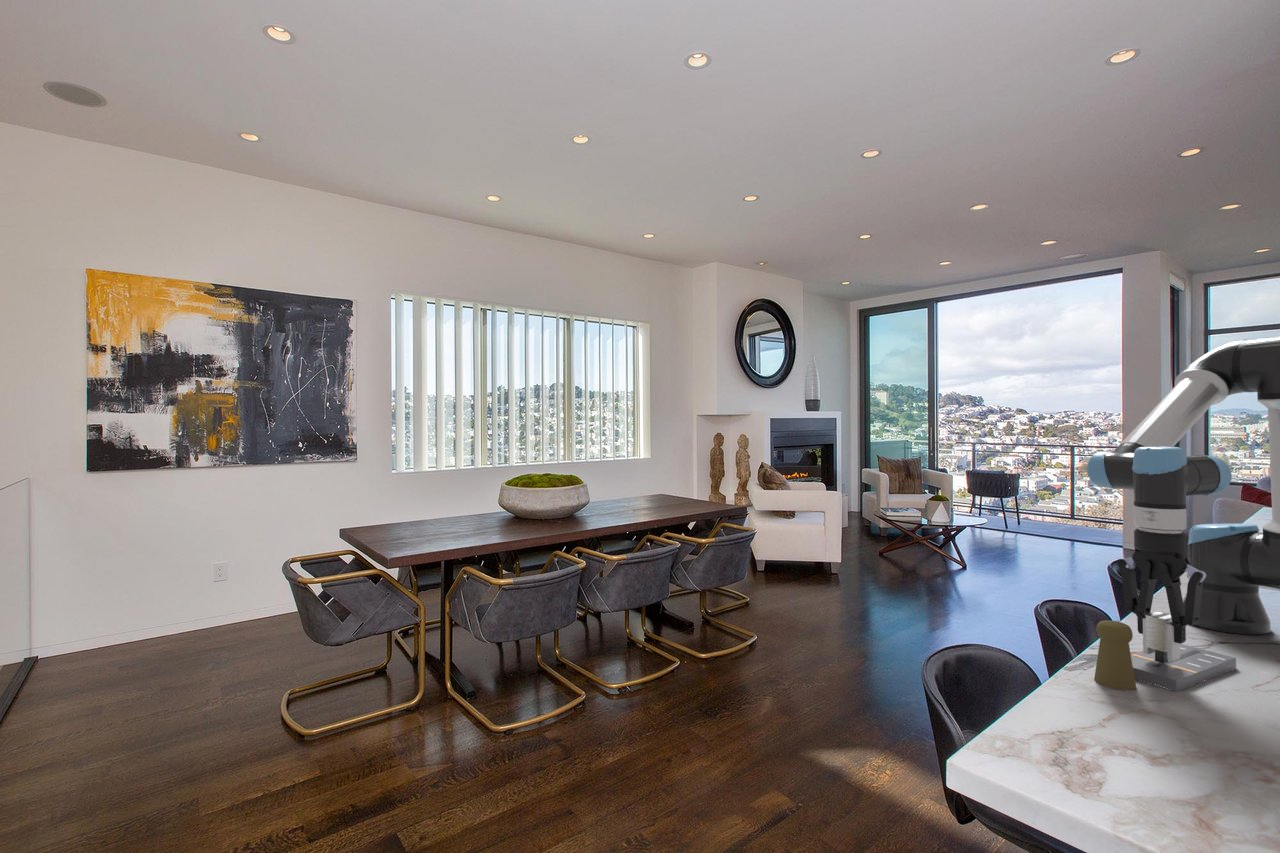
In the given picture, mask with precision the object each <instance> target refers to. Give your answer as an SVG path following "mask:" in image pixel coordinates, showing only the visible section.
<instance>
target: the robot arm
mask: <svg viewBox="0 0 1280 853" xmlns="http://www.w3.org/2000/svg"><path fill="white" fill-rule="evenodd" d="M1241 393H1256V394H1257V395H1256V396H1257V402H1258V403H1260V404H1261V405H1263V406H1264V407H1266V408H1267V414H1268V440H1269V441H1268V443H1269V467H1270V468H1269V470H1270V471H1269V472H1270V489H1271V490H1270V491H1271V493H1270V494H1271V516H1272V519H1271V520H1270V521H1268V523H1266V524H1264V525H1262V532H1260V528H1259V527H1258V525H1257V524H1252V523H1203V524H1196V525H1193V526H1192V527H1191V528H1189V533H1188V536H1187V534H1186V532H1184V531H1186V530H1187V529H1188V521H1187V518H1188V517H1187V497H1188V496H1191V497H1192V496H1209V495H1212V494H1217V493H1220V492H1223V490H1224V491H1225V490H1226V488H1228V487H1229V485H1230V484H1231V483H1232V482H1231V481H1232V475H1233V474H1232V470H1231V468H1230V466H1229V465H1228V464H1227V463H1226V462H1225V461H1224V460H1223V459H1221V458H1220V457H1217V456H1214V455H1206V454H1195V455H1186V451H1185V449H1183V448H1182V447H1178V446H1176V444H1177V443H1179V442H1180V441H1181V439H1182V438H1183V437H1184V436H1185V435H1186V434H1187V433H1188V432H1189V430H1191V428H1192V427H1193V426H1194V425H1195V424H1196V423H1197V422H1198V421H1199V420H1200V418H1201V417H1203V415H1205V413H1206V412H1207V411H1208V410H1209V409H1210V408H1211V406H1213V405H1218V404H1220V403H1222V402H1223V401H1224V400H1226V398H1227V397H1228V396H1230V395H1235V394H1241ZM1086 473H1087V474H1086V475H1087V477H1088V478H1089V481H1090V482H1091V483H1092V484H1093V485H1095V486H1097V487H1101V488H1102V487H1103V488H1110V489H1114V490H1130V491H1133V525H1134V526H1135V527H1136V528H1135V529H1134V530H1133V547H1134V552H1133V554H1132V556H1131V557H1124V558H1118V559H1117V560H1116V563H1117V564H1116V565H1117V566H1118V568H1119V570H1120V573H1121V581H1122V592H1123V600H1124V609H1125V611H1127V612H1131V613H1133V614H1134V615H1136V620H1137V632H1138V634H1140V635H1142V651H1143V653H1145V654H1151V653H1154V652H1155V649H1152V648H1148V647H1146V615H1147V614H1151V613H1152V612H1151V610H1152V605H1153V599H1154V595H1155V594H1154V593H1155V589H1156V583H1157V582H1158V580H1159V581H1162V584H1163V585H1162V586H1163V587H1164V588H1165V591H1166V592H1165V593H1166V597H1167V603H1168V608H1169V612H1170V613H1169V615H1171V619H1172V622H1171V623H1170V624H1167V660H1170V661H1174V660H1177V659H1180V644H1184V643H1185V642H1186V641H1187V631H1186V629H1187V628H1186V627H1187V626H1191V625H1193V626H1197V627H1200V628H1203V629H1209V630H1212V631H1218V632H1223V633H1229V634H1239V635H1252V636H1253V635H1266V634H1269V633H1271V630H1272V629H1271V619H1270V617H1269V616H1268V613H1267V611H1266V608H1265V606H1264V603H1263V602H1262V599H1261V597H1260V587H1264V588H1269V589H1270V588H1271V589H1275V590H1280V335H1278V336H1271V337H1261V338H1251V339H1249V338H1248V339H1247V338H1246V339H1240V340H1235V341H1231V342H1227V343H1225V344H1223V345H1219V346H1217V347H1216V348H1214V349H1212V350H1209V351H1208V352H1206V353H1204V354H1203V355H1201V356H1200V357H1198V358H1196V359H1195V360H1194V361H1193V362H1191V363H1189V365H1187V366H1186V367H1185V368H1184V369H1183V370H1182V371H1181V372H1180V373H1179V374H1177V376H1176V377H1175V379H1174V387H1173V388H1172V389H1170V391H1169V392H1168V393H1167V394H1166V395H1165V396H1164V397H1163V398H1162V400H1160V401H1159V402H1158V403H1157V405H1156V406H1154V408H1153V409H1152V410H1151V411H1150V412H1149V413H1148V414H1147V415H1146V416H1145V418H1143V419H1142V420H1141V421H1140V423H1138V424H1137V426H1136V427H1134V429H1133V430H1132V431H1131V432H1130V433H1129V434H1128V435H1127V436H1126V437H1125V438H1124V439H1123V441H1121V443H1119V445H1117V447H1115V448H1114V450H1113V451H1112V452H1109V451H1104V452H1096V453H1094V454H1092V455H1091V457H1090V458H1089V460H1088V462H1087V465H1086ZM1187 554H1188V556H1187ZM1136 566H1137V568H1138V569H1139V570H1140V572H1141V575H1140V583H1141V584H1140V589H1139V594H1138V584H1137V576H1136V571H1135V568H1136ZM1185 573H1186V574H1187V575H1186V577H1187V579H1188V582H1187V588H1186V593H1185V596H1184V598H1183V594H1182V588H1181V585H1182V583H1181V582H1182V581H1181V577H1182V575H1184V574H1185ZM1259 586H1260V587H1259Z"/></svg>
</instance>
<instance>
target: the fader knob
mask: <svg viewBox="0 0 1280 853" xmlns="http://www.w3.org/2000/svg"><path fill="white" fill-rule="evenodd" d="M1171 622H1172V619H1171V614H1170V613H1165V612H1160V611H1155V612H1151V614H1147V615H1146V647H1148V648H1152V649H1155V661H1156V662H1160V663H1163V664H1165V663H1167V662H1168V660H1167V624H1170V623H1171Z"/></svg>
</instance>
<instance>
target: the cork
mask: <svg viewBox="0 0 1280 853" xmlns="http://www.w3.org/2000/svg"><path fill="white" fill-rule="evenodd" d="M1095 628H1096V633H1097V636H1098V638H1099V644H1098V651H1097V658H1096V663H1095V664H1096V665H1095V670H1094V678H1093V680H1094V681H1095V682H1096V683H1097V684H1099V685H1101V686H1103V687H1107V688H1110V689H1113V690H1114V689H1115V690H1120V691H1132V690H1135V689H1137V685H1136V684H1137V683H1136V679H1135V677H1134V671H1133V665H1132V660H1131V654H1132V653H1131V650H1130V642H1132V640H1133V634H1134V633H1133V630H1132V628H1131V626H1130V625H1128V624H1126V623H1124V622H1120V621H1116V620H1108V619H1106V620H1100V621H1099V622H1098V623H1097V625H1096V627H1095Z"/></svg>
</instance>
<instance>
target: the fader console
mask: <svg viewBox="0 0 1280 853" xmlns="http://www.w3.org/2000/svg"><path fill="white" fill-rule="evenodd" d="M1130 654H1131V660H1132V665H1133V671H1134V677H1135V680H1137V679H1138V680H1137V681H1140V680H1142V681H1141V682H1143V681H1145V682H1144V683H1146V682H1149V683H1152V684H1156V685H1159V686H1162V687H1165V688H1168V689H1171V690H1170V691H1172V690H1173V691H1172V692H1175V691H1176V692H1175V693H1177V691H1178V692H1180V691H1183V690H1185V689H1188V688H1190V687H1193V686H1195V685H1198V684H1200V683H1199V682H1201V683H1203V682H1205V681H1204V680H1206V681H1207V679H1208V680H1211V679H1214V678H1215V676H1216V677H1218V676H1220V675H1223V674H1225V673H1228V672H1230V671H1233V670H1236V669H1237V658H1236V657H1233V656H1231V655H1227V654H1222V653H1219V652H1216V651H1215V652H1214V651H1211V650H1206V649H1204V648H1203V649H1202V648H1198V647H1195V646H1191V645H1187V644H1184V643H1181V644H1180V659H1177V660H1174V661H1170V660H1168V662H1167V663H1165V664H1163V663H1160V662H1156V661H1155V652H1154V653H1151V654H1145V653H1143V650H1142V651H1138V652H1135V653H1130ZM1210 678H1211V679H1210ZM1202 681H1203V682H1202ZM1149 683H1148V684H1149ZM1197 683H1198V684H1197ZM1152 684H1151V685H1152ZM1156 685H1155V686H1156ZM1192 685H1193V686H1192ZM1159 686H1158V687H1159ZM1162 687H1161V688H1162ZM1187 687H1188V688H1187ZM1165 688H1164V689H1165ZM1168 689H1167V690H1168ZM1182 689H1183V690H1182Z"/></svg>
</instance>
